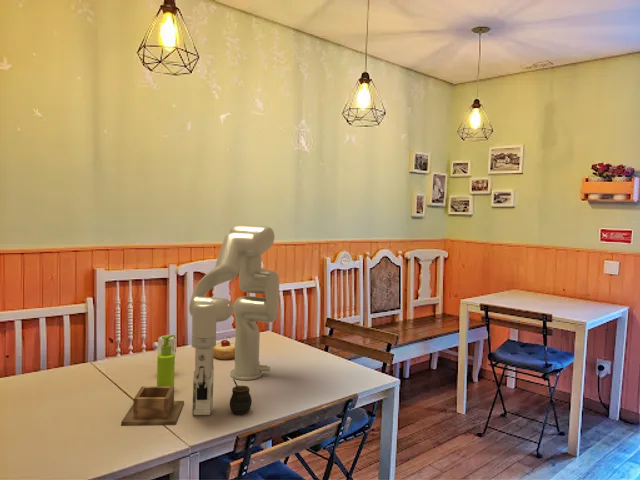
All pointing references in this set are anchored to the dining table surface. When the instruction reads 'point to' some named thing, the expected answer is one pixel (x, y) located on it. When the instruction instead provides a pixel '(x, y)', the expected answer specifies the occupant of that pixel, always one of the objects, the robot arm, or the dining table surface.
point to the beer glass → (171, 341)
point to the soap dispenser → (165, 364)
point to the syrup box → (203, 405)
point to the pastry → (224, 350)
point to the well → (154, 407)
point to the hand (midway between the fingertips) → (203, 395)
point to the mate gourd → (240, 399)
